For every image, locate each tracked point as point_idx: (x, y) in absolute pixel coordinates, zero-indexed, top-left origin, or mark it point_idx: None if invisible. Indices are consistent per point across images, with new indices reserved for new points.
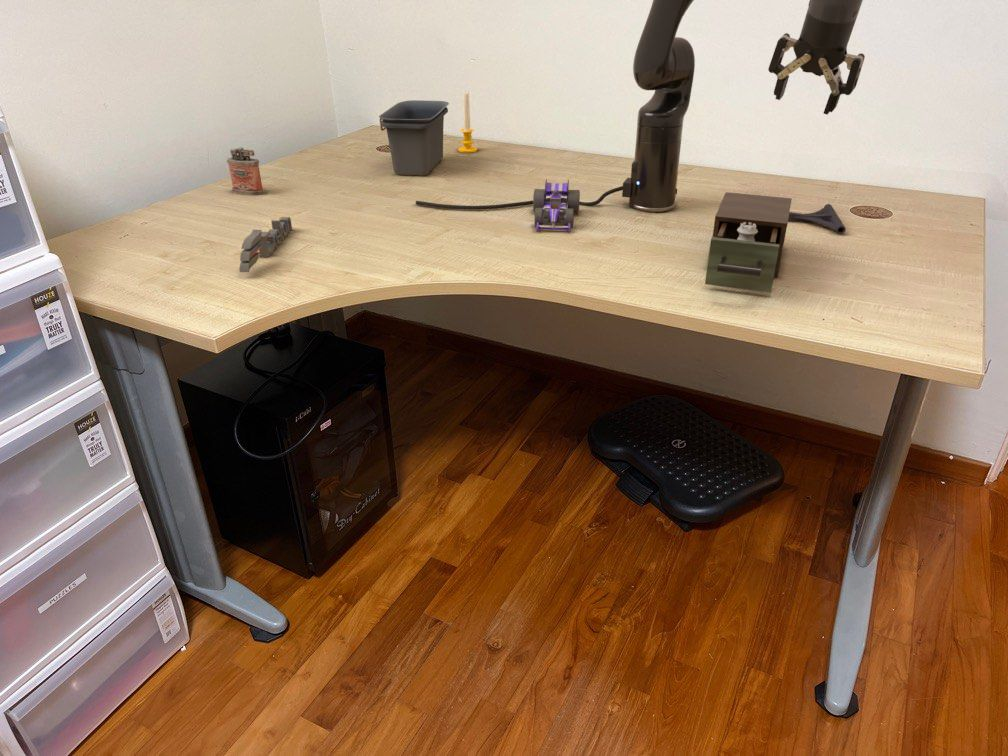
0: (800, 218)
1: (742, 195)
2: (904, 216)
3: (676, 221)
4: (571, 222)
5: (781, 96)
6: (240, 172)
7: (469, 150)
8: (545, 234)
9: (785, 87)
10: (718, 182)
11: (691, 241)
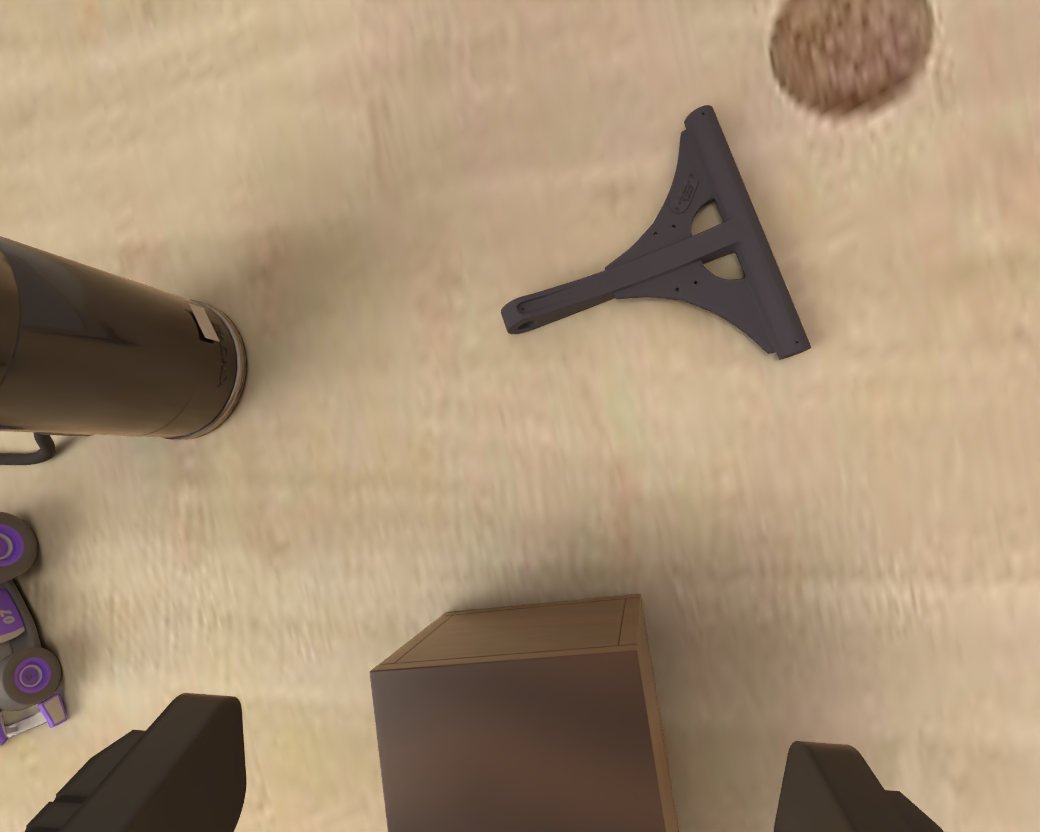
0: (634, 296)
1: (439, 695)
2: (983, 15)
3: (286, 479)
4: (42, 700)
5: (230, 773)
6: None
7: None
8: (22, 753)
9: (169, 789)
10: (297, 15)
11: (372, 643)
